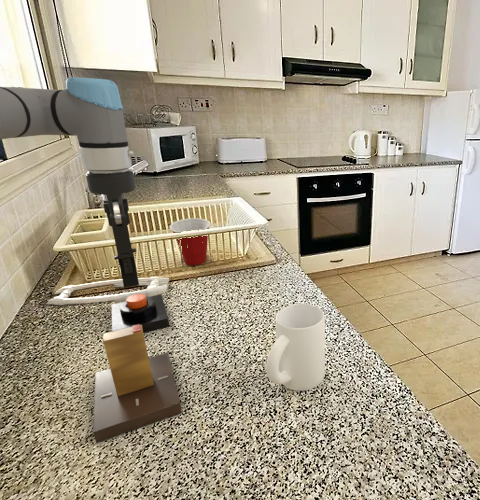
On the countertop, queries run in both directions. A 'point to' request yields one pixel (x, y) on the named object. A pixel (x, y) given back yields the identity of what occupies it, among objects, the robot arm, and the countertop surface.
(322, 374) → the mug
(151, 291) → the door handle
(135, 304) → the bell button
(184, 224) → the plastic cup
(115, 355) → the lock turn
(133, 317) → the black base
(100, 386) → the plate
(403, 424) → the countertop surface
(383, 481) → the countertop surface
